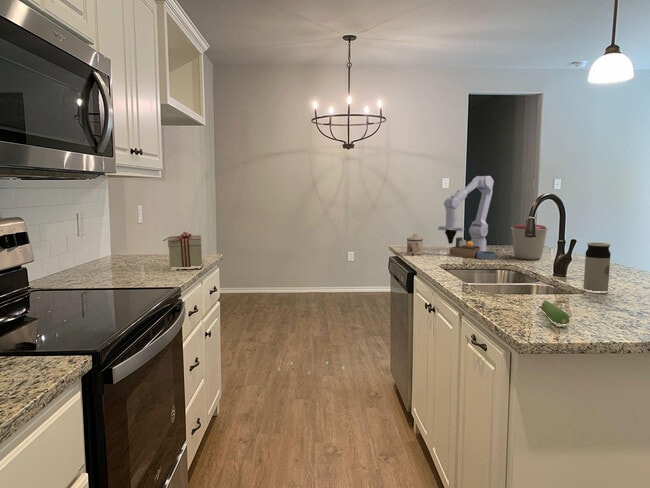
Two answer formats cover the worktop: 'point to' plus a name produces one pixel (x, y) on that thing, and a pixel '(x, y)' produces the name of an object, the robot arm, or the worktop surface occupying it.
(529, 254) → the white bucket
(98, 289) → the worktop surface
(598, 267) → the travel mug
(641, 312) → the worktop surface
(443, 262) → the worktop surface
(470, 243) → the ball
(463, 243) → the plunger
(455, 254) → the brown rectangular box
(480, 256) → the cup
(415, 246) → the teacup with lid
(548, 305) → the green elongated piece
